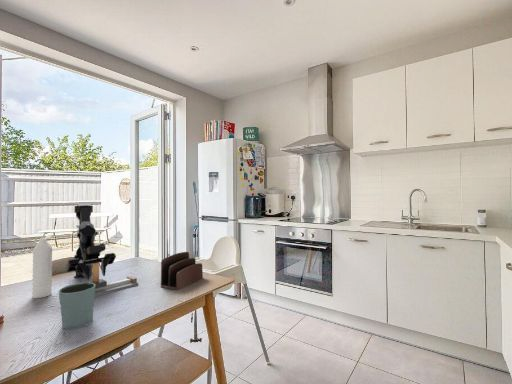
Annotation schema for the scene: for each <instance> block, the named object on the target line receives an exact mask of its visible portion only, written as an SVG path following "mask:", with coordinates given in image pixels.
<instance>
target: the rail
mask: <svg viewBox="0 0 512 384" xmlns="http://www.w3.org/2000/svg"><path fill="white" fill-rule="evenodd" d="M135 286H139V283H138V278H137V277H135V276H133V275H130V276H127V277H126V278H125V279H121V280H117V281H113V282H109V283H108V282H107V286H104V287H100V288H96V289H95V295H94V298H96V297H99V296H102V295H105V294H109V293H113V292H117V291H121V290H124V289H128V288H131V287H135Z"/></svg>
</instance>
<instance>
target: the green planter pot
mask: <svg viewBox="0 0 512 384" xmlns="http://www.w3.org/2000/svg"><path fill="white" fill-rule="evenodd" d="M94 295H95V284H94V283H85V282H78V283H73V284H70V285H66V286H64V287H62V288H60V289H59V290H58V296H59V297H58V298H59V304H60V313H61V314H60V315H61V327H62V328H63V329H65V330H73V329H74V330H75V329H78V328H82V327H85V326H87V325H89V324H91V323H92V321H93V319H94V306H95V305H94V304H95V297H94Z"/></svg>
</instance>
